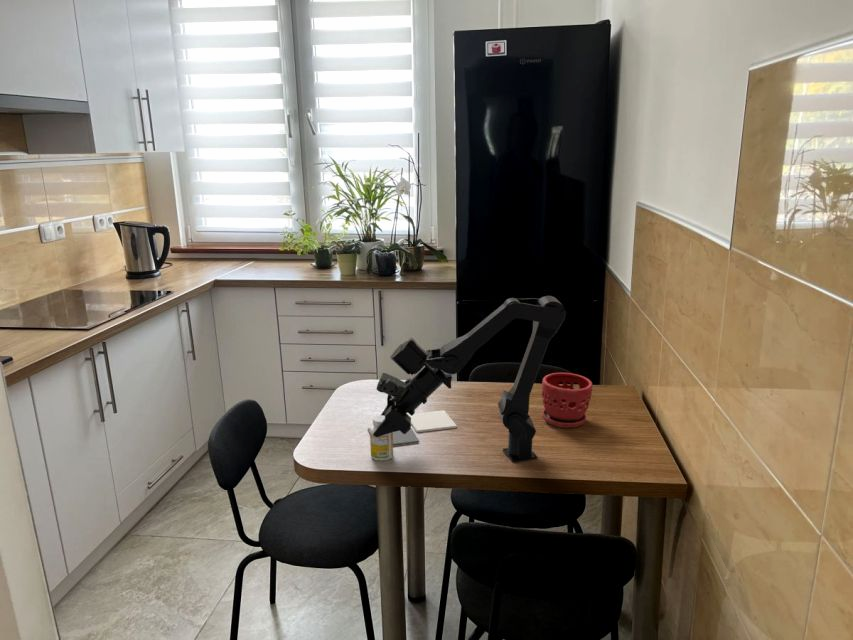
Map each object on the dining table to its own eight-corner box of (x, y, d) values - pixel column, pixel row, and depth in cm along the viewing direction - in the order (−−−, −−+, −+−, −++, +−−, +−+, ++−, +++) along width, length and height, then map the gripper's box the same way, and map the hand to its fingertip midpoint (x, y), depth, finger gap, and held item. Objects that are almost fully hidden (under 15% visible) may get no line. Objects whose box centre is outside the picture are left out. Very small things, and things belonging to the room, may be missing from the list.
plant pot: (537, 428, 169) (539, 385, 166) (543, 410, 182) (545, 370, 179) (588, 434, 166) (591, 390, 163) (591, 415, 178) (593, 374, 175)
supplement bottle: (381, 448, 158) (380, 412, 155) (397, 455, 155) (397, 417, 152) (366, 456, 154) (364, 419, 151) (382, 463, 150) (381, 424, 148)
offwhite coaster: (456, 427, 170) (456, 425, 170) (416, 432, 167) (416, 430, 167) (444, 412, 180) (444, 410, 180) (406, 416, 177) (406, 414, 177)
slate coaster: (419, 442, 161) (419, 440, 161) (376, 448, 158) (376, 446, 158) (408, 425, 171) (408, 423, 171) (367, 430, 168) (367, 428, 168)
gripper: (398, 351, 157) (355, 394, 160) (394, 377, 139) (345, 424, 142) (430, 381, 159) (387, 423, 162) (431, 410, 141) (382, 456, 144)
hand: (375, 430), depth 153 cm, fingers closed on supplement bottle, 5 cm apart
